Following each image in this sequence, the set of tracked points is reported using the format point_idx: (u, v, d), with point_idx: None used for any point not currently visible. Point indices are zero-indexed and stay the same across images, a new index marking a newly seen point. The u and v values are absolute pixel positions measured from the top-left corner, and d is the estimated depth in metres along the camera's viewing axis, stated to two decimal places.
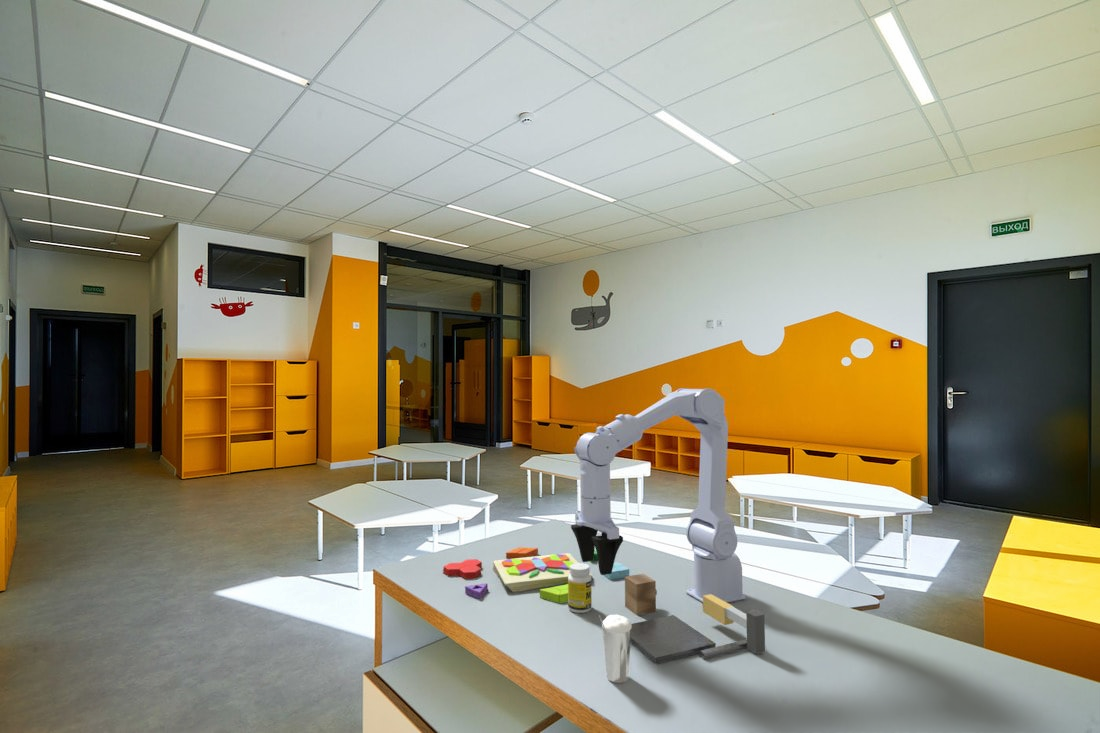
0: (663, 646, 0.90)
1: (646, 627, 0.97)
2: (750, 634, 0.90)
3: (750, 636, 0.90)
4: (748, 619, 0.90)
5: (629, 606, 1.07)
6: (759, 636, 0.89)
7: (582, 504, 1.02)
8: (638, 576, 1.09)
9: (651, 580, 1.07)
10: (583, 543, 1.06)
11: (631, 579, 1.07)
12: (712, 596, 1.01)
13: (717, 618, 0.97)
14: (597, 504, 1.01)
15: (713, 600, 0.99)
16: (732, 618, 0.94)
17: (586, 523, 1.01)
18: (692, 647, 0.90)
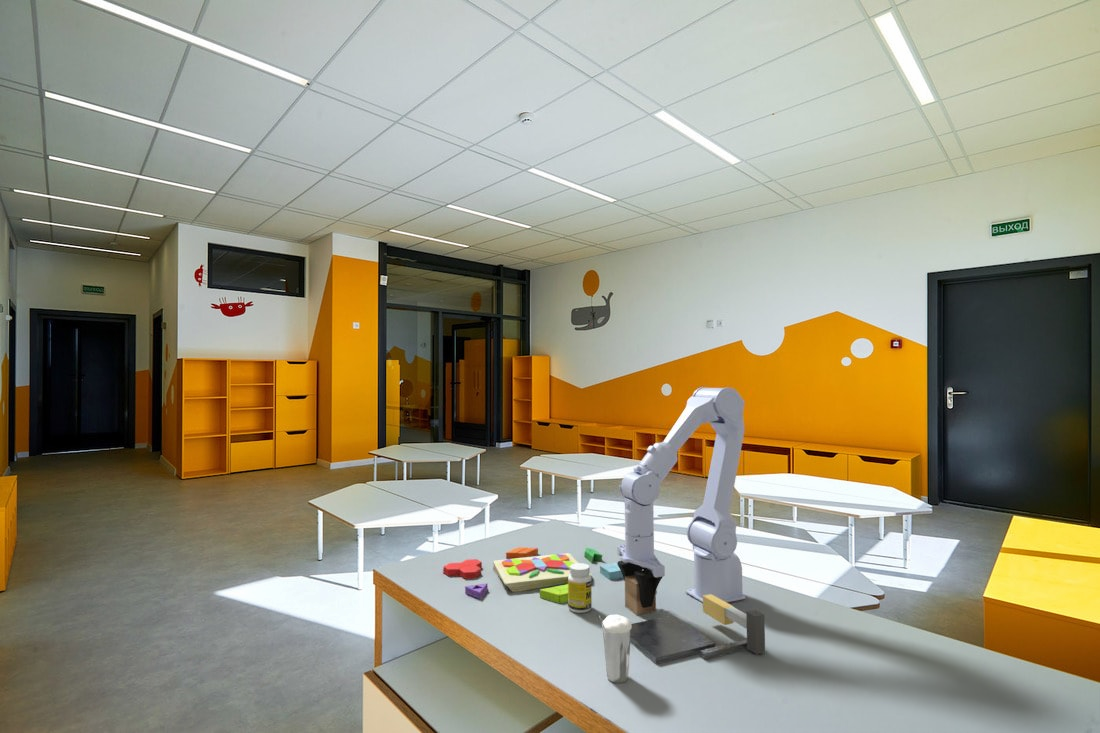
0: (663, 646, 0.90)
1: (646, 627, 0.97)
2: (750, 634, 0.90)
3: (750, 636, 0.90)
4: (748, 619, 0.90)
5: (629, 606, 1.07)
6: (759, 636, 0.89)
7: (627, 541, 1.07)
8: None
9: None
10: None
11: (631, 579, 1.07)
12: (712, 596, 1.01)
13: (717, 618, 0.97)
14: (642, 542, 1.05)
15: (713, 600, 0.99)
16: (732, 618, 0.94)
17: (631, 560, 1.05)
18: (692, 647, 0.90)
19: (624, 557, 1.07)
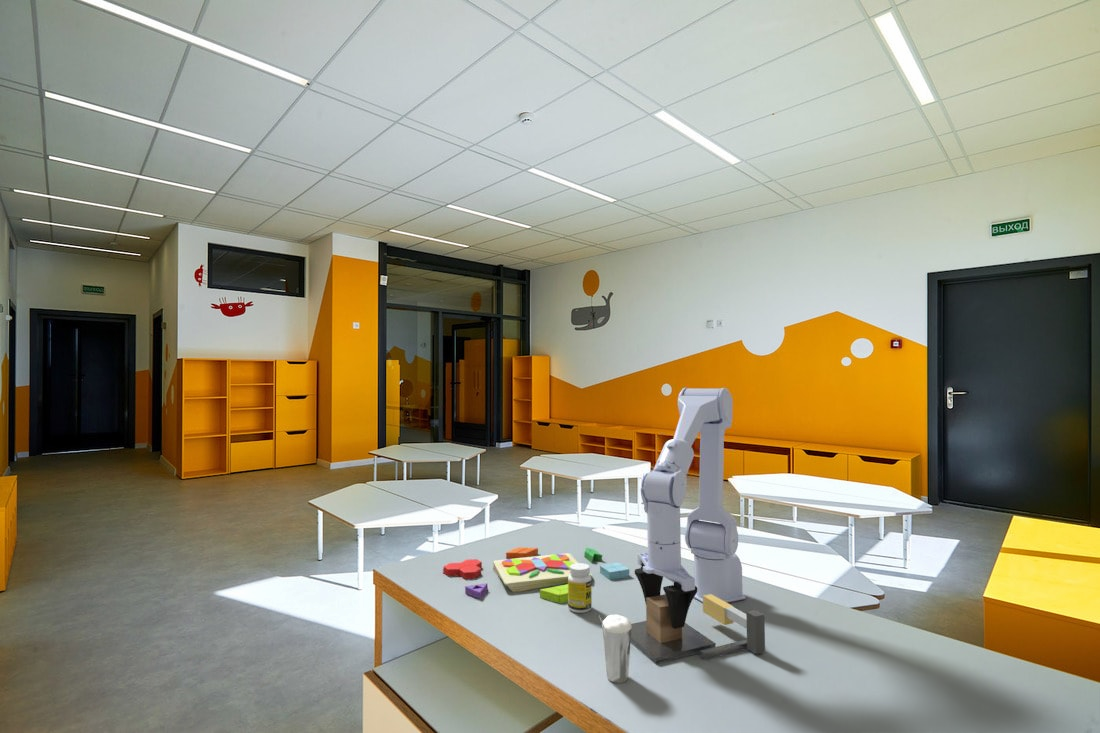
0: (663, 646, 0.90)
1: (646, 627, 0.97)
2: (750, 634, 0.90)
3: (750, 636, 0.90)
4: (748, 619, 0.90)
5: (651, 632, 0.94)
6: (759, 636, 0.89)
7: (650, 549, 0.94)
8: (661, 597, 0.96)
9: None
10: (648, 590, 0.98)
11: (653, 601, 0.94)
12: (712, 596, 1.01)
13: (717, 618, 0.97)
14: (668, 550, 0.92)
15: (713, 600, 0.99)
16: (732, 618, 0.94)
17: (655, 571, 0.92)
18: (692, 647, 0.90)
19: (647, 567, 0.94)
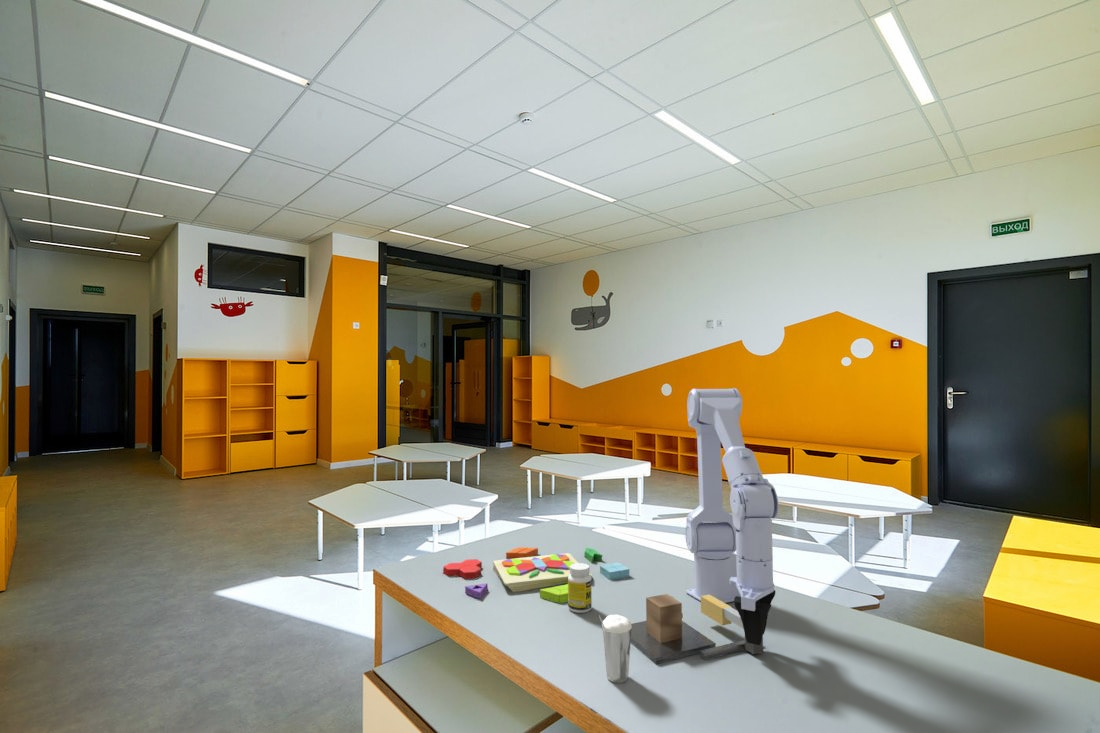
0: (663, 646, 0.90)
1: (646, 627, 0.97)
2: None
3: None
4: None
5: (651, 632, 0.94)
6: None
7: None
8: (661, 597, 0.96)
9: (676, 602, 0.94)
10: None
11: (653, 601, 0.94)
12: (710, 596, 1.01)
13: (715, 618, 0.97)
14: (745, 566, 0.89)
15: (711, 600, 0.99)
16: (730, 619, 0.94)
17: (736, 583, 0.90)
18: (692, 647, 0.90)
19: (733, 578, 0.92)
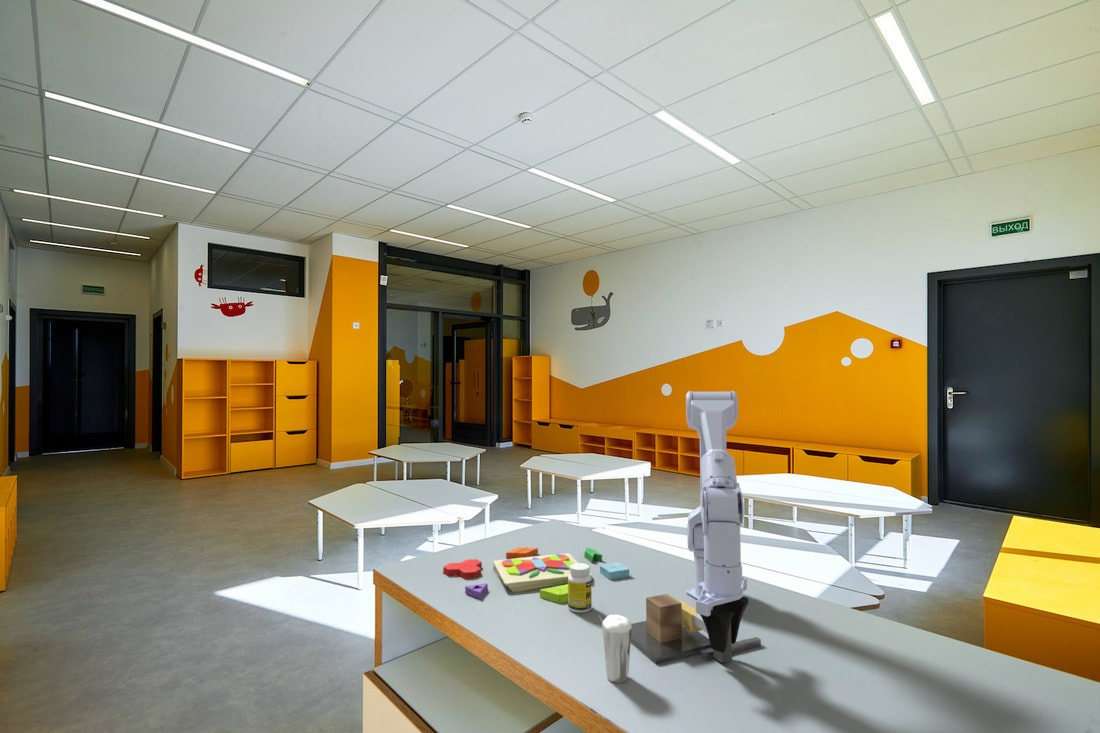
0: (663, 646, 0.90)
1: (646, 627, 0.97)
2: None
3: None
4: None
5: (651, 632, 0.94)
6: None
7: None
8: (661, 597, 0.96)
9: (676, 602, 0.94)
10: None
11: (653, 601, 0.94)
12: (681, 602, 0.98)
13: (685, 625, 0.95)
14: (709, 570, 0.87)
15: None
16: (699, 626, 0.92)
17: (703, 588, 0.89)
18: (692, 647, 0.90)
19: (703, 583, 0.90)
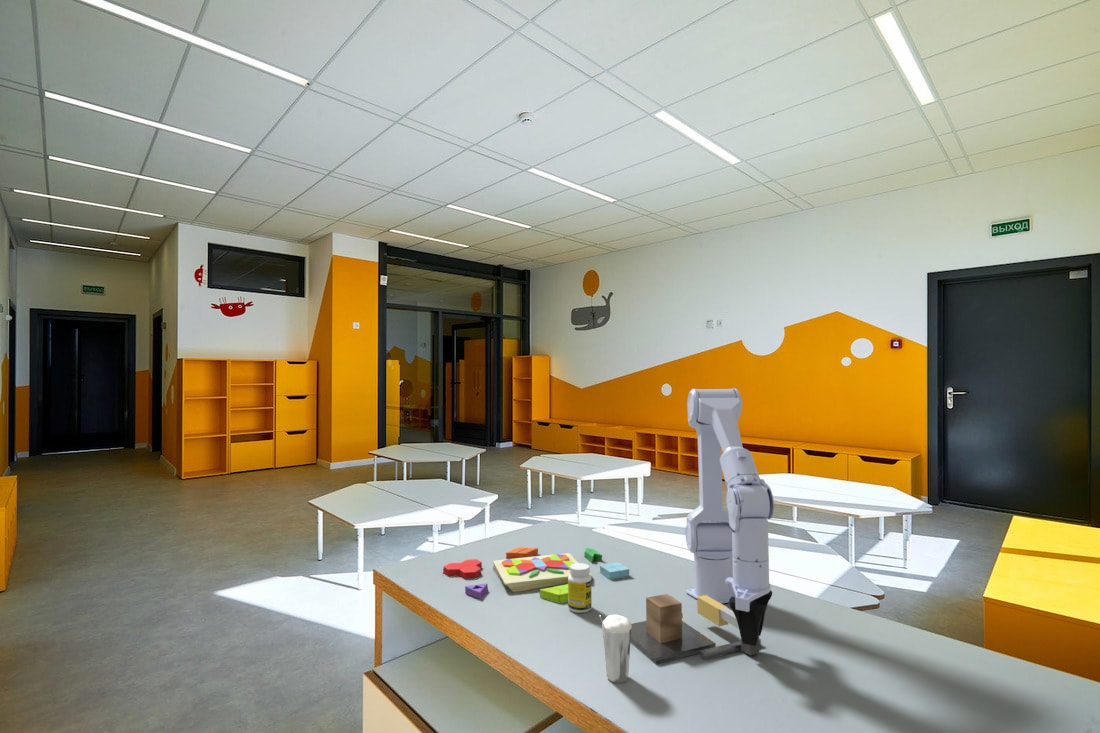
0: (663, 646, 0.90)
1: (646, 627, 0.97)
2: None
3: None
4: None
5: (651, 632, 0.94)
6: None
7: None
8: (661, 597, 0.96)
9: (676, 602, 0.94)
10: None
11: (653, 601, 0.94)
12: (707, 597, 1.00)
13: (712, 619, 0.97)
14: (741, 566, 0.88)
15: (708, 601, 0.99)
16: (726, 620, 0.94)
17: (732, 584, 0.90)
18: (692, 647, 0.90)
19: (729, 579, 0.92)
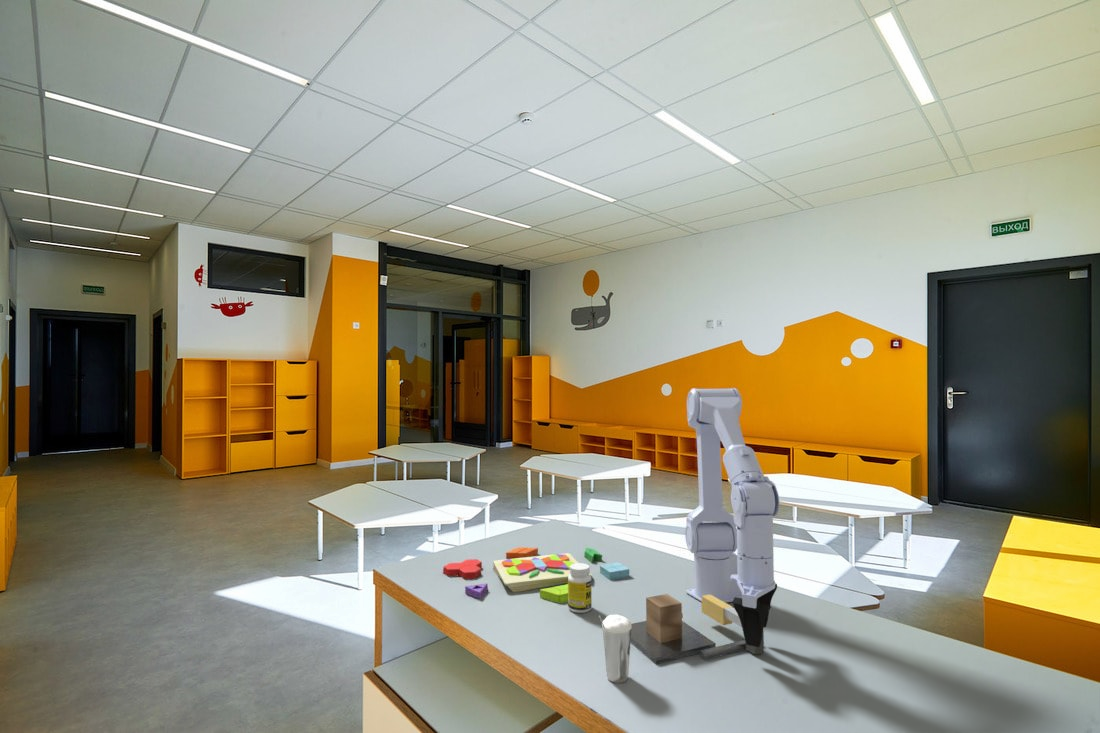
0: (663, 646, 0.90)
1: (646, 627, 0.97)
2: None
3: None
4: None
5: (651, 632, 0.94)
6: None
7: None
8: (661, 597, 0.96)
9: (676, 602, 0.94)
10: None
11: (653, 601, 0.94)
12: (711, 596, 1.01)
13: (716, 618, 0.97)
14: (746, 563, 0.89)
15: (712, 600, 0.99)
16: (730, 619, 0.94)
17: (737, 581, 0.90)
18: (692, 647, 0.90)
19: (734, 576, 0.92)
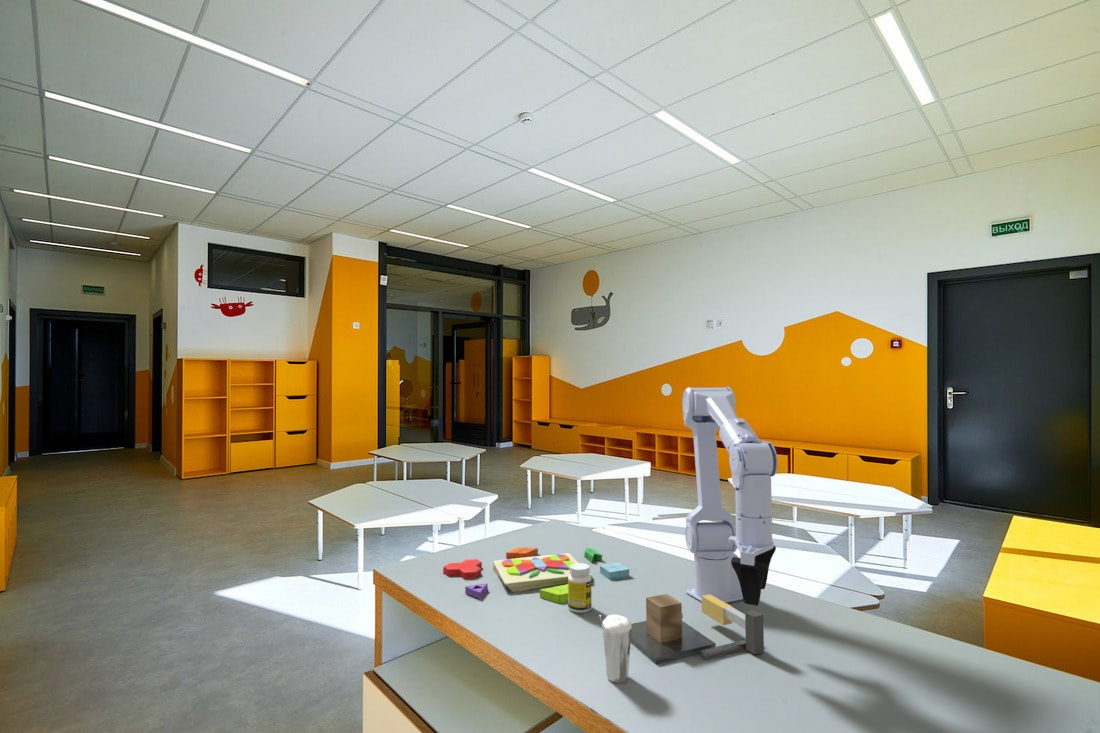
0: (663, 646, 0.90)
1: (646, 627, 0.97)
2: (749, 634, 0.90)
3: (749, 636, 0.90)
4: (747, 619, 0.90)
5: (651, 632, 0.94)
6: (758, 636, 0.89)
7: None
8: (661, 597, 0.96)
9: (676, 602, 0.94)
10: None
11: (653, 601, 0.94)
12: (711, 596, 1.01)
13: (716, 618, 0.97)
14: (745, 523, 0.89)
15: (712, 600, 0.99)
16: (730, 619, 0.94)
17: (735, 541, 0.91)
18: (692, 647, 0.90)
19: (732, 537, 0.92)
